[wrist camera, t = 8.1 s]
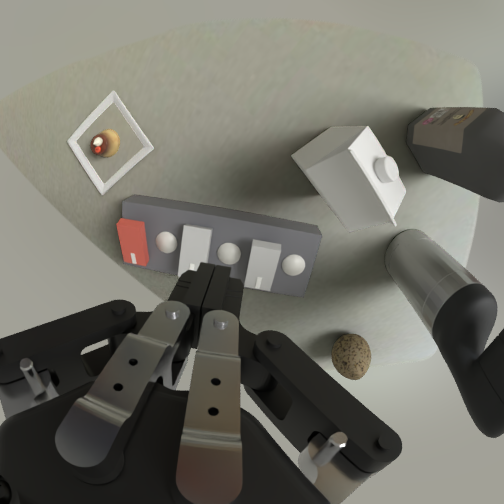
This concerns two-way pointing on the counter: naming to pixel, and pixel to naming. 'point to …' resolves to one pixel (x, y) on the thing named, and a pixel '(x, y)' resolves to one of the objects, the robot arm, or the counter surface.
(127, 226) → the red rocker
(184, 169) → the counter surface
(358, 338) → the decorative egg
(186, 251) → the middle rocker
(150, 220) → the rocker switch box
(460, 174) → the liquor
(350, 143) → the milk carton
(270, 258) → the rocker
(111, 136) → the dessert
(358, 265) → the counter surface
